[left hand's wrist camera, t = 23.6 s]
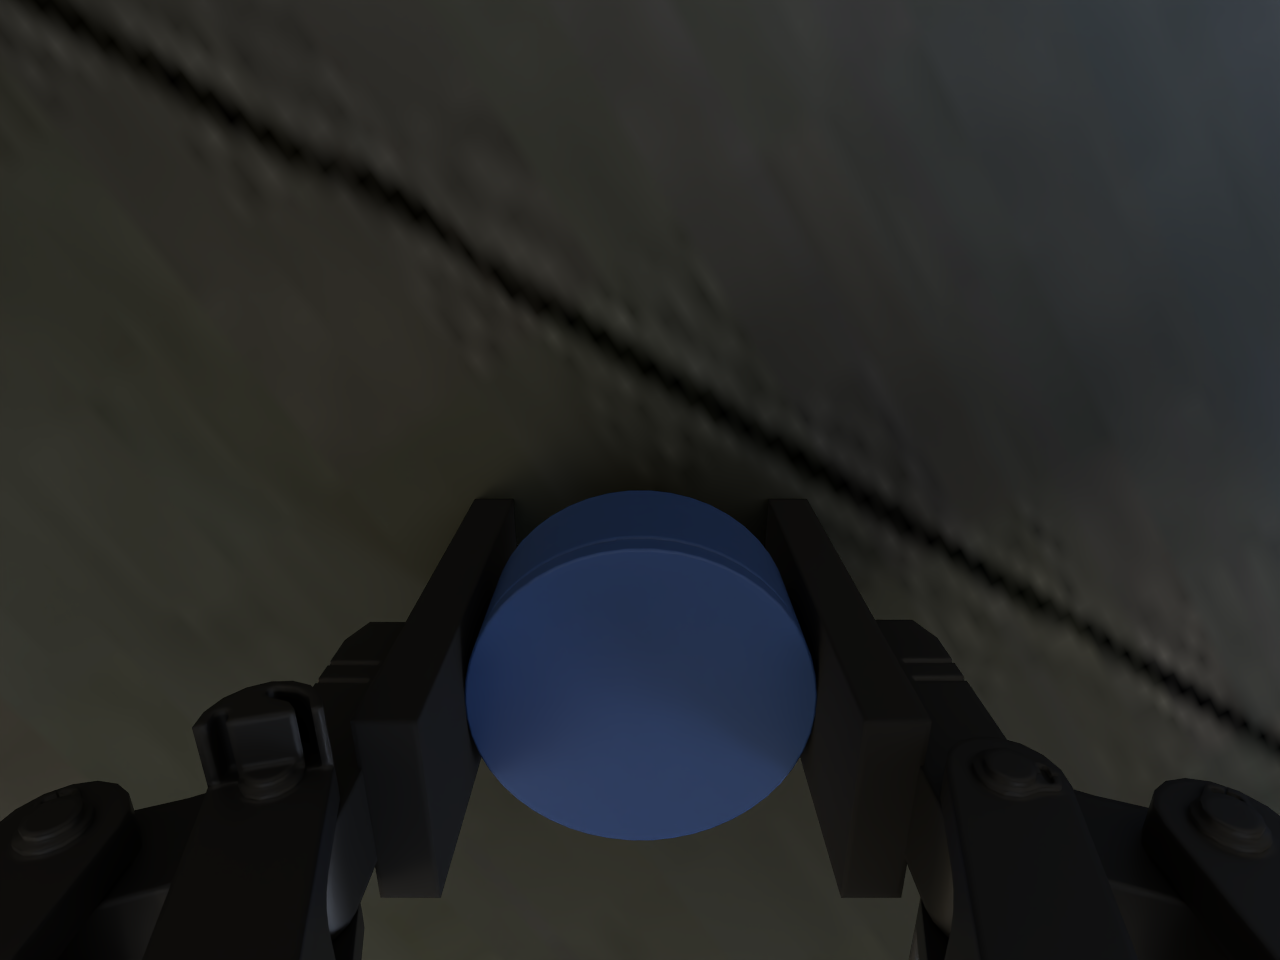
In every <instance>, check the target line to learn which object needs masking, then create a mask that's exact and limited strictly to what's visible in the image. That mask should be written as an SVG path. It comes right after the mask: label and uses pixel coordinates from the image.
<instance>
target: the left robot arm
mask: <svg viewBox="0 0 1280 960" xmlns="http://www.w3.org/2000/svg"><path fill="white" fill-rule="evenodd" d="M516 548H517V546H516V531H515V516H514V501H513V499H475V500H474V502H473V504H472V505H471V507H470V509H469V511H468V512H467V514H466V516H465V518H464V520H463V521H462V523H461V525H460V527H459V528H458V530H457V532H456V534H455V536H454V537H453V539H452V541H451V543H450V544H449V546H448V548H447V550H446V552H445V553H444V555H443V557H442V559H441V560H440V562H439V564H438V566H437V567H436V569H435V571H434V573H433V575H432V576H431V578H430V580H429V582H428V583H427V585H426V587H425V589H424V591H423V592H422V594H421V596H420V598H419V599H418V601H417V603H416V605H415V607H414V608H413V610H412V612H411V614H410V615H409V617H408V619H407V621H406V622H369V623H368V624H367V625H365V626H364V627H363V628H361V629H360V630H358V631H357V632H356V633H354V634H353V635H351V636H350V637H349V638H347V639H346V640H345V641H344V642H343V644H342V645H341V647H340V648H339V650H338V651H337V653H336V654H335V655H334V657H333V658H332V660H331V664H330V665H328V666H327V667H326V669H325V670H324V672H323V673H322V675H321V676H320V678H319V682H318V683H315V685H314V686H313V687H312V686H311V685H307V684H303V683H299V682H295V681H278V682H268V683H264V684H260V685H255V686H251V687H247V688H245V689H242V690H240V691H238V692H236V693H234V694H231V695H229V696H227V697H225V698H223V699H221V700H220V701H219V702H217V703H216V704H214V705H213V706H212V707H210V708H209V709H207V710H206V711H205V712H204V713H203V714H202V715H201V717H200V718H199V719H198V721H197V722H196V723H195V724H194V726H193V727H192V729H193V733H194V737H195V740H196V744H197V748H198V752H199V755H200V759H201V763H202V766H203V770H204V774H205V777H206V781H207V785H208V789H207V792H206V793H205V794H201V795H198V796H195V797H191V798H187V799H183V800H179V801H174V802H170V803H165V804H161V805H157V806H152V807H148V808H143V809H139V810H135V811H134V808H133V805H132V802H131V799H130V796H129V793H128V792H127V791H126V790H124V789H123V788H122V787H121V786H120V785H118V784H115V783H109V782H102V781H93V782H86V783H79V784H72V785H69V786H66V787H64V788H60V789H58V790H54V791H52V792H49V793H46V794H43V795H42V796H40V797H38V798H36V799H34V800H32V801H30V802H29V803H27V804H25V805H23V806H21V807H19V808H17V809H16V810H14V811H13V812H12V813H11V814H9V815H8V816H7V817H6V818H4V819H3V820H2V821H1V822H0V960H361V958H362V947H363V937H364V922H363V915H362V909H361V904H360V902H361V900H362V897H363V895H364V892H365V890H366V887H367V885H368V882H369V880H370V877H371V875H372V872H373V870H374V867H375V868H376V874H377V880H378V885H379V891H380V897H381V898H441V894H442V891H443V888H444V884H445V881H446V877H447V874H448V870H449V867H450V863H451V860H452V857H453V853H454V850H455V846H456V843H457V839H458V836H459V832H460V829H461V826H462V822H463V819H464V815H465V812H466V808H467V805H468V801H469V798H470V795H471V791H472V788H473V784H474V781H475V777H476V774H477V770H478V767H479V764H480V760H481V755H480V753H479V751H478V749H477V747H476V744H475V742H474V740H473V738H472V735H471V731H470V728H469V724H468V720H467V715H466V706H465V677H466V672H467V667H468V663H469V658H470V656H471V653H472V650H473V648H474V645H475V642H476V640H477V637H478V634H479V632H480V629H481V626H482V624H483V621H484V618H485V615H486V613H487V610H488V607H489V605H490V602H491V599H492V597H493V594H494V591H495V589H496V586H497V583H498V581H499V578H500V575H501V573H502V570H503V569H504V567H505V565H506V563H507V562H508V560H509V558H510V556H511V555H512V553H513V552H514V551H515V549H516ZM765 549H766V550H767V551H768V553H769V554H770V556H771V558H772V559H773V561H774V563H775V564H776V566H777V568H778V570H779V572H780V575H781V577H782V580H783V582H784V585H785V587H786V590H787V593H788V595H789V598H790V601H791V603H792V606H793V609H794V611H795V614H796V617H797V619H798V622H799V624H800V627H801V630H802V632H803V635H804V638H805V640H806V643H807V646H808V648H809V651H810V654H811V656H812V660H813V665H814V669H815V673H816V682H817V703H816V713H815V718H814V722H813V726H812V730H811V734H810V736H809V739H808V741H807V743H806V746H805V748H804V750H803V752H802V754H801V756H800V758H801V761H802V765H803V768H804V772H805V775H806V779H807V782H808V785H809V789H810V792H811V796H812V799H813V803H814V806H815V809H816V813H817V816H818V820H819V823H820V827H821V830H822V834H823V837H824V840H825V844H826V847H827V851H828V854H829V858H830V861H831V864H832V868H833V871H834V875H835V878H836V882H837V885H838V889H839V892H840V895H841V898H901V895H902V890H903V884H904V878H905V873H906V867H907V864H908V867H909V869H910V872H911V874H912V877H913V879H914V882H915V884H916V887H917V889H918V892H919V894H920V897H921V898H920V904H919V909H918V914H917V920H916V925H915V930H914V935H913V941H912V946H911V951H910V957H909V960H1280V816H1279V815H1278V814H1276V813H1275V812H1274V811H1273V810H1271V809H1270V808H1269V807H1267V806H1266V805H1264V804H1262V803H1260V802H1258V801H1256V800H1254V799H1253V798H1251V797H1249V796H1247V795H1245V794H1243V793H1241V792H1239V791H1236V790H1234V789H1231V788H1228V787H1225V786H1222V785H1219V784H1216V783H1213V782H1209V781H1202V780H1195V779H1188V778H1183V779H1176V780H1170V781H1165V782H1164V783H1163V784H1162V785H1160V786H1159V787H1158V788H1157V789H1156V790H1154V794H1153V797H1152V800H1151V803H1150V806H1149V808H1147V807H1142V806H1138V805H1133V804H1129V803H1125V802H1120V801H1116V800H1111V799H1107V798H1103V797H1098V796H1094V795H1090V794H1087V793H1084V792H1080V791H1077V790H1074V789H1073V788H1072V786H1071V784H1070V783H1069V781H1068V780H1067V778H1066V777H1065V775H1064V774H1063V772H1062V771H1061V770H1060V769H1059V768H1058V767H1057V766H1056V765H1054V764H1053V763H1052V762H1051V761H1050V760H1048V759H1047V758H1046V757H1045V756H1044V755H1042V754H1040V753H1038V752H1036V751H1034V750H1032V749H1030V748H1028V747H1026V746H1024V745H1022V744H1020V743H1016V742H1013V741H1009V740H1007V739H1006V738H1005V736H1004V735H1003V733H1002V732H1001V730H1000V729H999V727H998V726H997V724H996V723H995V722H994V720H993V719H992V717H991V716H990V714H989V713H988V711H987V710H986V708H985V707H984V705H983V704H982V703H981V701H980V700H979V698H978V697H977V695H976V694H975V692H974V691H973V689H972V688H971V686H970V685H969V684H968V682H967V681H964V676H963V675H962V673H961V672H960V670H959V669H958V667H957V666H956V665H955V663H952V659H951V657H950V656H949V654H948V653H947V651H946V650H945V648H944V647H943V646H942V644H941V643H940V641H939V640H938V638H937V637H935V636H934V635H932V634H931V633H930V632H928V631H927V630H925V629H924V628H923V627H921V626H920V625H918V624H917V623H916V622H914V621H913V620H875V619H874V618H873V616H872V614H871V612H870V610H869V609H868V607H867V605H866V603H865V602H864V600H863V598H862V596H861V594H860V593H859V591H858V589H857V587H856V586H855V584H854V582H853V580H852V579H851V577H850V575H849V573H848V571H847V570H846V568H845V566H844V564H843V563H842V561H841V559H840V557H839V556H838V554H837V552H836V550H835V548H834V547H833V545H832V543H831V541H830V540H829V538H828V536H827V534H826V532H825V531H824V529H823V527H822V525H821V524H820V522H819V520H818V518H817V517H816V515H815V513H814V511H813V509H812V508H811V506H810V504H809V502H808V501H807V499H768V511H767V526H766V540H765Z"/></svg>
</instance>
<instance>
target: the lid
mask: <svg viewBox="0 0 1280 960" xmlns="http://www.w3.org/2000/svg"><path fill="white" fill-rule="evenodd" d="M816 703H817V682H816V673H815V669H814V665H813V660H812V656H811V654H810V651H809V648H808V646H807V643H806V640H805V638H804V635H803V632H802V630H801V627H800V624H799V622H798V619H797V617H796V614H795V611H794V609H793V606H792V603H791V601H790V598H789V595H788V593H787V590H786V587H785V585H784V582H783V580H782V577H781V575H780V572H779V570H778V568H777V566H776V564H775V563H774V561H773V559H772V558H771V556H770V554H769V553H768V551H767V550H766V549H765V548H764V546H763V545H762V544H761V543H760V541H759V540H758V539H757V538H756V537H755V536H754V535H753V534H752V533H751V532H750V531H749V530H748V529H747V528H745V527H744V526H743V525H742V524H740V523H739V522H738V521H736V520H735V519H733V518H732V517H731V516H729V515H728V514H726V513H724V512H722V511H720V510H719V509H717V508H715V507H713V506H711V505H709V504H706V503H704V502H701V501H698V500H696V499H693V498H690V497H686V496H682V495H678V494H673V493H668V492H659V491H650V490H647V491H621V492H614V493H608V494H604V495H600V496H596V497H592V498H588V499H586V500H583V501H581V502H578V503H575V504H573V505H570V506H568V507H566V508H565V509H563V510H561V511H559V512H557V513H556V514H554V515H552V516H551V517H549V518H548V519H546V520H545V521H544V522H542V523H541V524H540V525H538V526H537V527H536V528H535V529H534V530H533V531H532V532H531V533H530V534H529V535H528V536H527V537H525V538H524V539H523V540H522V542H521V543H520V544H519V546H518V547H517V548H516V549H515V551H514V552H513V553H512V555H511V556H510V558H509V560H508V562H507V563H506V565H505V567H504V569H503V570H502V573H501V575H500V578H499V581H498V583H497V586H496V589H495V591H494V594H493V597H492V599H491V602H490V605H489V607H488V610H487V613H486V615H485V618H484V621H483V624H482V626H481V629H480V632H479V634H478V637H477V640H476V642H475V645H474V648H473V650H472V653H471V656H470V658H469V663H468V667H467V672H466V677H465V706H466V715H467V720H468V724H469V728H470V731H471V735H472V738H473V740H474V742H475V744H476V747H477V749H478V751H479V753H480V755H481V757H482V758H483V760H484V761H485V763H486V765H487V766H488V768H489V769H490V771H491V772H492V773H493V774H494V776H495V777H496V778H497V779H498V780H499V782H500V783H501V784H502V785H503V786H504V787H505V788H506V789H507V790H508V791H509V792H511V793H512V794H513V795H514V796H515V797H516V798H517V799H518V800H520V801H521V802H523V803H524V804H525V805H527V806H528V807H529V808H531V809H532V810H534V811H536V812H537V813H539V814H541V815H543V816H545V817H546V818H548V819H550V820H552V821H554V822H557V823H559V824H561V825H564V826H566V827H568V828H571V829H574V830H578V831H581V832H584V833H587V834H591V835H596V836H601V837H607V838H613V839H624V840H658V839H668V838H675V837H680V836H685V835H690V834H694V833H697V832H701V831H704V830H707V829H710V828H713V827H716V826H718V825H720V824H722V823H725V822H727V821H729V820H732V819H734V818H735V817H737V816H739V815H740V814H742V813H744V812H746V811H747V810H749V809H751V808H752V807H753V806H755V805H756V804H757V803H759V802H760V801H761V800H763V799H764V798H766V797H767V796H768V795H769V794H770V793H771V792H772V791H773V790H774V789H775V788H776V787H777V786H778V785H779V784H780V783H781V782H782V781H783V780H784V779H785V777H786V776H787V775H788V774H789V772H790V771H791V770H792V769H793V767H794V766H795V764H796V762H797V761H798V759H799V757H800V756H801V754H802V752H803V750H804V748H805V746H806V743H807V741H808V739H809V736H810V734H811V730H812V726H813V722H814V718H815V713H816Z"/></svg>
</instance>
